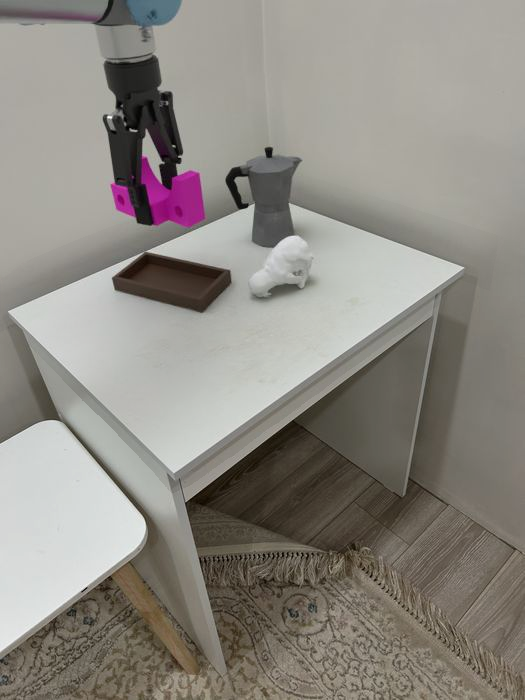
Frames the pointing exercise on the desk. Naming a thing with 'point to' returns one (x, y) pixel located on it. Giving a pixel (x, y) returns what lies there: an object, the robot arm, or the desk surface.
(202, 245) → the desk surface
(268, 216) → the coffeepot
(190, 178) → the magenta curved bracket
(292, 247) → the white lumpy piece
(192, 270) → the dark brown rectangular tray
